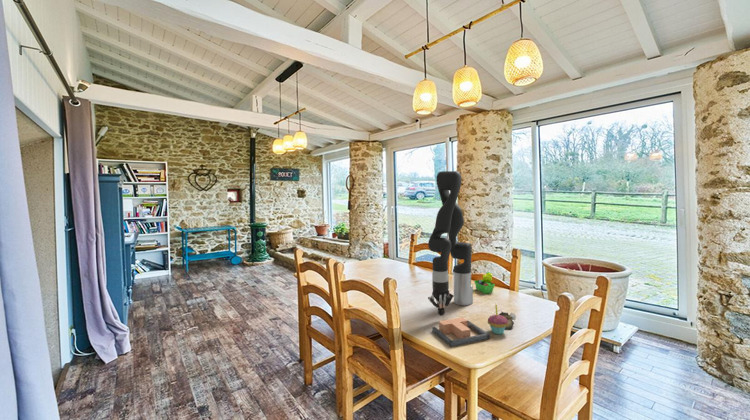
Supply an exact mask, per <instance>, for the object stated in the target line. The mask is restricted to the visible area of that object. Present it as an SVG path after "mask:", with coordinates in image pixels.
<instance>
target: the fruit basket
mask: <svg viewBox="0 0 750 420" xmlns="http://www.w3.org/2000/svg"><path fill="white" fill-rule="evenodd" d="M492 281H493V274H492V272H489V271H487V272H486V273H485V274H483V275H482V279H480V280H474V281H473V282H474V284H475V288H476V290H477V291H479V292H481V293H483V294H492V293H493V292H494V288H495V286H496V285H495V283H492Z"/></svg>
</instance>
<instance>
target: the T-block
mask: <svg viewBox="0 0 750 420" xmlns="http://www.w3.org/2000/svg"><path fill="white" fill-rule="evenodd" d="M467 321H468V320H467V319H466V318H464V317H461V316H460V317H457V318H452V319H451V318H450V319H446V320H445V319H444V320H440V321H438V330H440V331H441V332H442V333H443V334H445V335H447V334H450V333H452V334H453V335H455V336H456V337H457V339H461V338H466V337H471V328H469V327H468V326H467Z"/></svg>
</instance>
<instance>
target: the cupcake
mask: <svg viewBox="0 0 750 420" xmlns="http://www.w3.org/2000/svg"><path fill="white" fill-rule="evenodd" d="M494 307H495V314H493V315H490V316H489V317H487V324H489V327H490V329H491V332H492V333H493V334H496V335H503V334H504V332H505V331H506V330H505V327H507V326H508V325H509V322H508V320H507V319H506V318H505V317H504V316H501V315H499V314H498V304H495V306H494Z"/></svg>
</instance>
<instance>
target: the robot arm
mask: <svg viewBox="0 0 750 420" xmlns="http://www.w3.org/2000/svg"><path fill="white" fill-rule="evenodd" d="M462 182H463V181H462V175H461V172H460V171H456V170H451V171H449V170H446V171H445V170H444V171H439V172H438V173H437V175H436V186H437V190H438V193H439V196H440V200H441V204H442V205H441V207H440V208H439V209H438V212H437V214H436V216H435V217H436V218H435V223H434V225H435V226H434V229H433V230H432V233H431V235H430V237H429V240H428V242H427V243H428V244H427V245H428V249H429V250H430V252H433V253H440V256H435V257H433V258H432V276H431V278H432V279H431V280H432V283H431V284H432V285H431V286H432V293H431V295H430V296H428V297H427V299H428V301H429V302H430V303H431V304H432V305H433V306H434V307H435V308H437V314H438V315H439V316H440V317H441V316H444V315H445V312H446V310H445V308H446V307H448V306H449V305H450V303H451V301H452V300H453V304H455V305H458V306H470V305H471V304H473V303H474V299H473V298H474V286H473V285H472V254H473V253H472V252H473V251H472V250H473V249H472V244H471V243H470V242H464V241H463V242H460V241H457V237H458V235H459V233H460V232H461V229H462V228H463V226H464V223H465V220H464V214H463V212H464V211H463V209H462V208H461V207H460V205H459V204H458V203H457V200H458V197H459V194H460V190H461V185H462ZM444 234H447V235H448V238H447V237H441V236H442V235H444ZM449 256H451V258H452V259H455V260H462V261H463V262H462V263H459V264H456V265H455V264H454V266H453V294H452V293H450V290H449V289H450V287H449V285H450V283H449V267H448V266H449V264H448V263H449V258H450V257H449Z"/></svg>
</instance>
